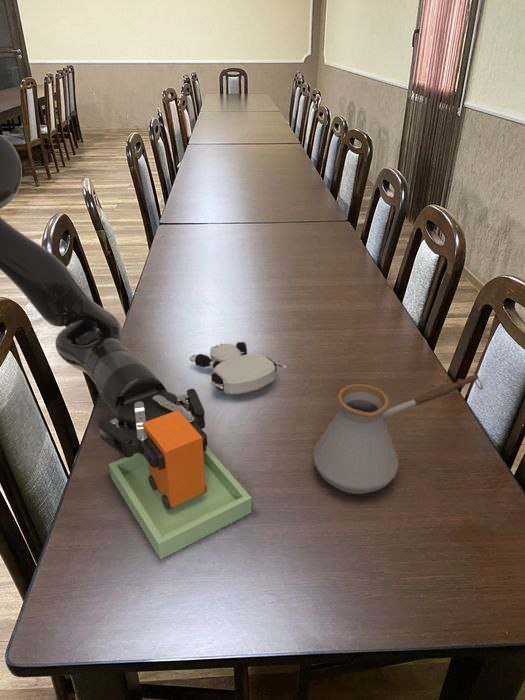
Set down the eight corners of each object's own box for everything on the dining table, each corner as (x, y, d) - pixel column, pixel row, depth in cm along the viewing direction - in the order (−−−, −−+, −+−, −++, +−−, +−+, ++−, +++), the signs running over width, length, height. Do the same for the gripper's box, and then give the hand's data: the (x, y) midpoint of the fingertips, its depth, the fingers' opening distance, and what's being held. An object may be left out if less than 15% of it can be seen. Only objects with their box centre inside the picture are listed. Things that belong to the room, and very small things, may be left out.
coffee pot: (322, 509, 69) (331, 416, 61) (303, 449, 78) (309, 362, 71) (479, 492, 71) (506, 401, 64) (441, 436, 81) (462, 351, 73)
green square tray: (251, 512, 68) (251, 497, 67) (160, 559, 62) (158, 544, 61) (193, 444, 79) (192, 430, 78) (111, 478, 73) (108, 463, 72)
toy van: (207, 496, 69) (204, 436, 64) (169, 514, 66) (163, 453, 61) (184, 466, 74) (179, 407, 68) (147, 481, 71) (139, 422, 66)
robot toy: (186, 371, 97) (224, 410, 86) (183, 349, 95) (223, 385, 84) (245, 353, 103) (288, 387, 91) (244, 332, 101) (288, 364, 89)
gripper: (73, 379, 70) (122, 453, 58) (172, 349, 77) (234, 409, 65) (82, 424, 74) (130, 502, 62) (176, 392, 81) (235, 456, 69)
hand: (183, 454), depth 64 cm, fingers closed on toy van, 4 cm apart
